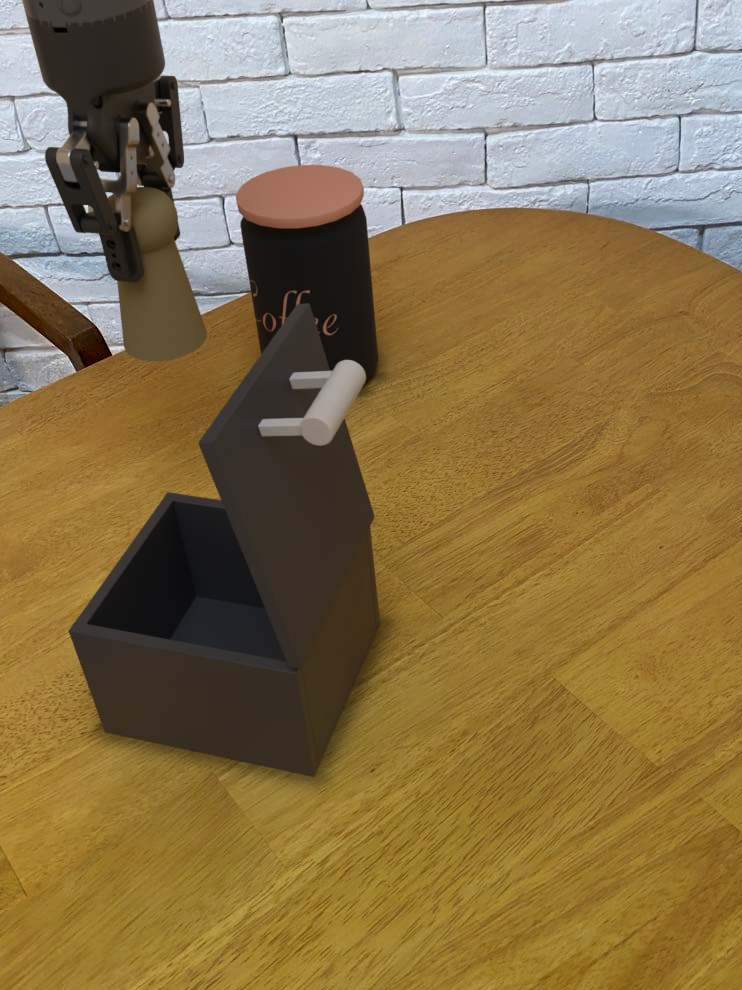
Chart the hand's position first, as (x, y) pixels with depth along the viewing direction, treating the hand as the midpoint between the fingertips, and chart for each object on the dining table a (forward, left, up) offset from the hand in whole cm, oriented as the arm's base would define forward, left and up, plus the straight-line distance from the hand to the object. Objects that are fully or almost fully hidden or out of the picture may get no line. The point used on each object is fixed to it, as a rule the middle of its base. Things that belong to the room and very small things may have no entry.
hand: (147, 258), depth 78 cm
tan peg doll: (0, 0, -7) cm, 7 cm away
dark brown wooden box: (+11, -17, -22) cm, 30 cm away
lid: (+17, -17, -4) cm, 25 cm away
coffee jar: (+3, +20, -22) cm, 29 cm away
